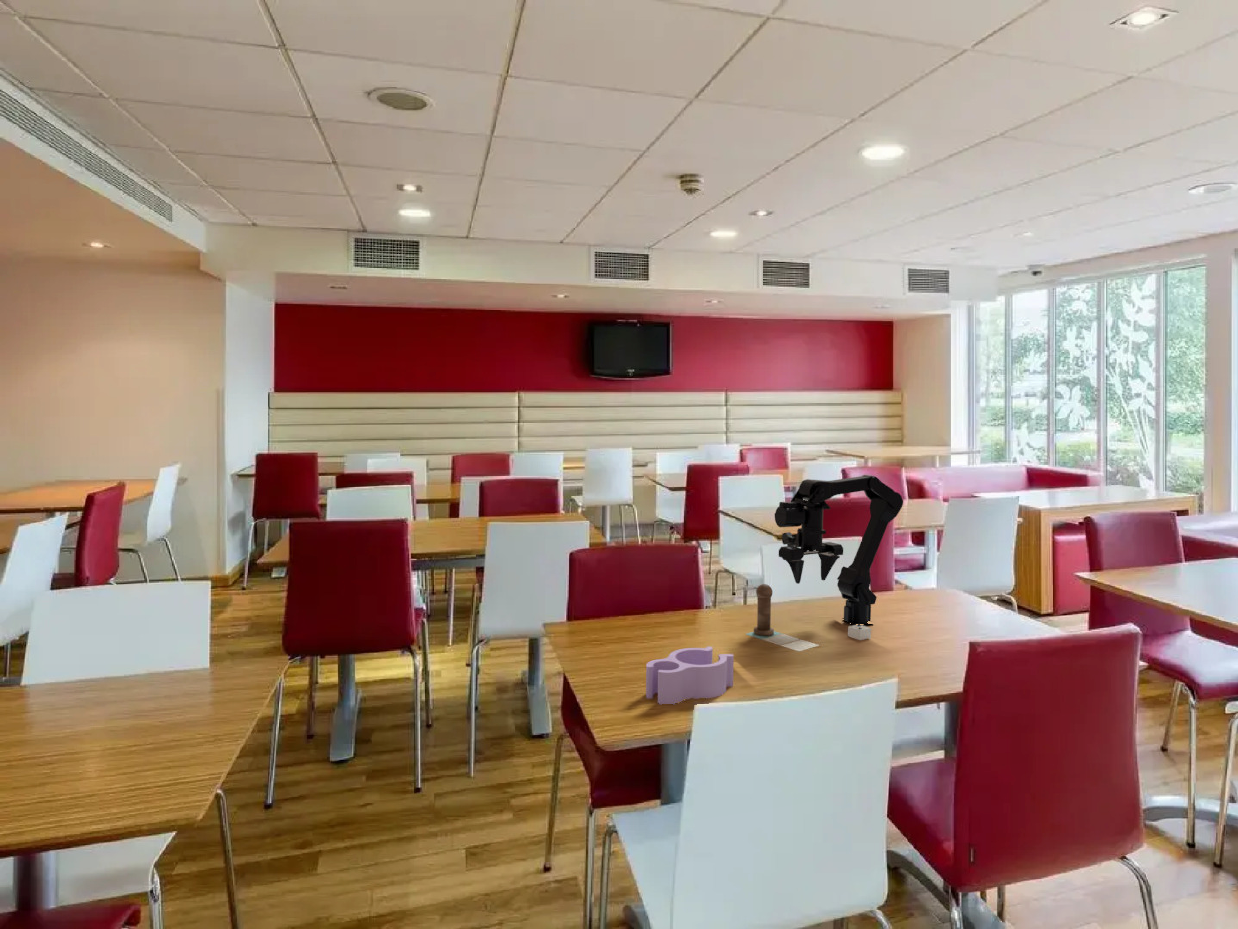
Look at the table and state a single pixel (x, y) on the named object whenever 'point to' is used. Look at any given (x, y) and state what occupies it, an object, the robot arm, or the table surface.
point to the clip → (689, 675)
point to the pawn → (764, 611)
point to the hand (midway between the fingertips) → (810, 581)
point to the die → (859, 632)
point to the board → (786, 641)
